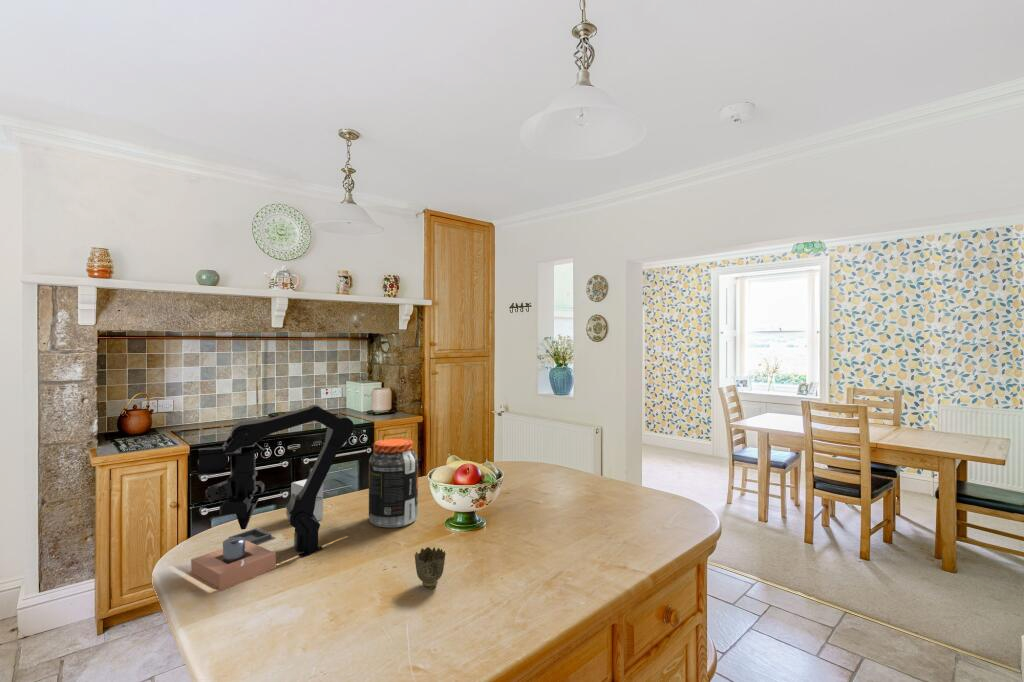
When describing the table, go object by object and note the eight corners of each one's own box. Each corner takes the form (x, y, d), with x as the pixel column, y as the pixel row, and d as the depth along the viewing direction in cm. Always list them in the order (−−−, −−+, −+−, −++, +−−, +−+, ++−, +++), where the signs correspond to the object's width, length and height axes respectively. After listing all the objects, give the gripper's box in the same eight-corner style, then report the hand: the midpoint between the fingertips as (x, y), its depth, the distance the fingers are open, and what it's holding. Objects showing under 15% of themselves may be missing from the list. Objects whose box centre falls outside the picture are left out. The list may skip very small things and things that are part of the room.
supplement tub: (425, 523, 162) (426, 443, 162) (378, 533, 154) (378, 449, 153) (406, 508, 176) (407, 435, 175) (361, 517, 167) (362, 440, 166)
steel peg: (247, 566, 131) (247, 536, 131) (241, 575, 126) (241, 544, 126) (226, 568, 130) (226, 537, 130) (219, 577, 125) (219, 545, 125)
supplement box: (302, 526, 159) (302, 486, 158) (290, 520, 163) (290, 482, 163) (323, 519, 165) (323, 481, 164) (311, 514, 169) (311, 477, 169)
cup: (431, 596, 117) (431, 562, 117) (407, 588, 121) (408, 555, 121) (451, 583, 124) (451, 551, 123) (428, 575, 127) (428, 544, 127)
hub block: (275, 568, 130) (275, 553, 130) (219, 591, 119) (220, 574, 119) (246, 554, 138) (246, 540, 138) (191, 575, 126) (191, 559, 126)
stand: (276, 540, 147) (276, 534, 147) (242, 553, 139) (242, 545, 139) (257, 533, 153) (257, 526, 153) (223, 544, 145) (223, 537, 144)
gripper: (221, 463, 140) (221, 518, 140) (195, 482, 122) (196, 546, 122) (264, 460, 142) (264, 515, 143) (246, 479, 124) (246, 542, 124)
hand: (243, 528), depth 133 cm, fingers closed
